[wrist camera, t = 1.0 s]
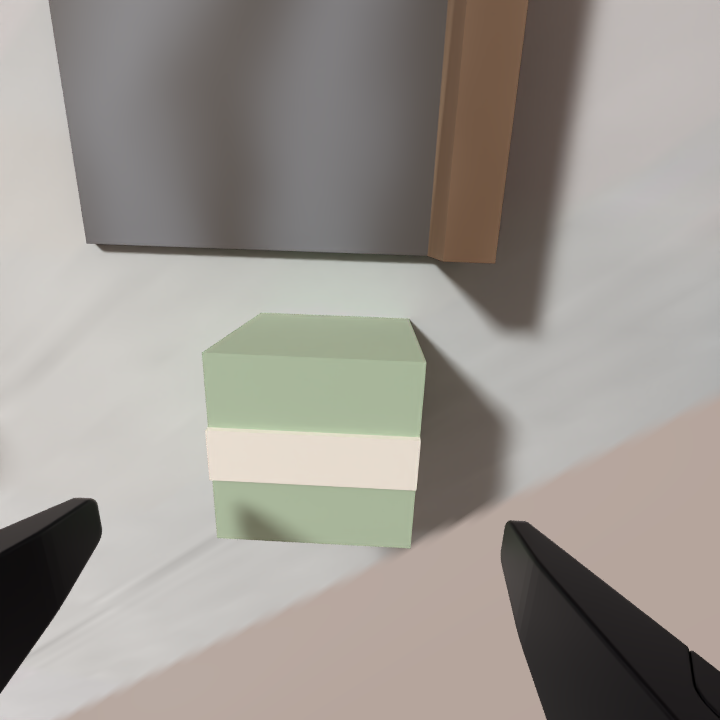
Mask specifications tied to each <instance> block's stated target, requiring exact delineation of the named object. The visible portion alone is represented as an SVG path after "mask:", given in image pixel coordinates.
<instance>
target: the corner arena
mask: <svg viewBox="0 0 720 720" xmlns="http://www.w3.org/2000/svg"><path fill="white" fill-rule="evenodd" d="M528 1H529V0H49V6H50V12H51V19H52V25H53V32H54V38H55V44H56V51H57V57H58V64H59V70H60V76H61V83H62V89H63V96H64V102H65V108H66V115H67V121H68V127H69V134H70V140H71V147H72V153H73V159H74V166H75V172H76V179H77V185H78V191H79V198H80V204H81V211H82V217H83V223H84V230H85V236H86V243H87V244H114V245H142V246H169V247H197V248H224V249H252V250H280V251H307V252H335V253H362V254H390V255H418V256H429V257H432V258H435V259H437V260H440V261H443V262H469V263H495V260H496V252H497V244H498V236H499V229H500V221H501V213H502V205H503V197H504V189H505V182H506V174H507V166H508V158H509V150H510V142H511V134H512V127H513V119H514V111H515V103H516V95H517V87H518V80H519V72H520V64H521V56H522V48H523V40H524V32H525V25H526V17H527V9H528Z"/></svg>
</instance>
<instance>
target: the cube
mask: <svg viewBox="0 0 720 720" xmlns="http://www.w3.org/2000/svg"><path fill="white" fill-rule="evenodd" d="M202 360H203V372H204V384H205V396H206V408H207V420H208V428H207V429H206V430H205V433H206V445H207V456H208V468H209V480H213V492H214V505H215V517H216V529H217V538H227V539H246V540H264V541H282V542H301V543H319V544H338V545H356V546H375V547H393V548H411V536H412V524H413V513H414V501H415V491H416V490H417V478H418V467H419V455H420V444H421V440H420V431H421V420H422V408H423V397H424V385H425V373H426V360H425V358H424V355H423V353H422V350H421V348H420V345H419V343H418V340H417V338H416V335H415V333H414V331H413V328H412V326H411V323H410V321H409V319H403V318H378V317H353V316H328V315H304V314H279V313H260V314H259V315H257V316H256V317H254V318H253V319H251V320H250V321H248V322H247V323H245V324H244V325H242V326H241V327H239V328H238V329H236V330H235V331H233V332H232V333H230V334H229V335H227V336H226V337H224V338H223V339H222V340H220V341H219V342H217V343H216V344H214V345H213V346H211V347H210V348H208V349H207V350H205V351H204V352H202Z"/></svg>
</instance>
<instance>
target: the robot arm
mask: <svg viewBox="0 0 720 720" xmlns="http://www.w3.org/2000/svg"><path fill="white" fill-rule="evenodd" d="M101 535H102V526H101V521H100V515H99V510H98V505H97V502H96V501H95V500H94V499H91V498H73V499H70V500H68V501H66V502H63V503H61V504H59V505H56V506H54V507H52V508H49V509H47V510H45V511H42V512H40V513H38V514H35V515H33V516H31V517H28V518H26V519H24V520H21V521H19V522H17V523H14V524H12V525H10V526H7V527H5V528H3V529H0V693H1V692H2V691H3V689H4V688H5V686H6V685H7V683H8V682H9V681H10V679H11V678H12V676H13V675H14V674H15V672H16V671H17V669H18V668H19V666H20V665H21V664H22V662H23V661H24V659H25V658H26V657H27V655H28V654H29V652H30V651H31V649H32V648H33V647H34V645H35V644H36V642H37V641H38V639H39V638H40V637H41V635H42V634H43V632H44V631H45V630H46V628H47V627H48V625H49V624H50V622H51V621H52V619H53V618H54V617H55V615H56V614H57V612H58V611H59V609H60V607H61V606H62V604H63V603H64V601H65V599H66V598H67V596H68V594H69V593H70V591H71V589H72V587H73V586H74V584H75V582H76V581H77V579H78V577H79V575H80V574H81V572H82V570H83V569H84V567H85V565H86V563H87V562H88V560H89V558H90V557H91V555H92V553H93V551H94V550H95V548H96V546H97V545H98V543H99V541H100V538H101ZM501 563H502V568H503V572H504V576H505V581H506V585H507V589H508V594H509V597H510V602H511V606H512V611H513V615H514V619H515V624H516V628H517V632H518V635H519V639H520V642H521V645H522V649H523V652H524V655H525V657H526V660H527V663H528V666H529V669H530V672H531V675H532V678H533V681H534V684H535V687H536V690H537V693H538V696H539V698H540V701H541V704H542V707H543V710H544V713H545V716H546V719H547V720H720V671H718V670H717V669H716V668H714V667H713V666H712V665H711V664H709V663H708V662H707V661H705V660H704V659H703V658H702V657H700V656H699V655H698V654H696V653H695V652H694V651H690V652H689V649H688V647H687V646H686V645H685V644H683V643H682V642H681V641H679V640H678V639H677V638H676V637H674V636H673V635H672V634H670V633H669V632H668V631H667V630H665V629H664V628H663V627H662V626H660V625H659V624H658V623H657V622H655V621H654V620H653V619H651V618H650V617H649V616H648V615H646V614H645V613H644V612H642V611H641V610H640V609H639V608H637V607H636V606H635V605H633V604H632V603H631V602H630V601H628V600H627V599H626V598H624V597H623V596H622V595H621V594H619V593H618V592H617V591H615V590H614V589H613V588H612V587H610V586H609V585H608V584H606V583H605V582H604V581H603V580H601V579H600V578H599V577H597V576H596V575H594V573H592V572H591V571H590V570H588V569H587V568H586V567H585V566H583V565H582V564H581V563H579V562H578V561H577V560H576V559H574V558H573V557H572V556H571V555H569V554H568V553H566V552H565V551H564V550H563V549H562V548H560V547H559V546H558V545H556V544H555V543H554V542H553V541H551V540H550V539H549V538H547V537H546V536H545V535H544V534H542V533H541V532H540V531H538V530H537V529H536V528H535V527H533V526H532V525H531V524H529V523H528V522H525V521H511V520H510V521H508V522H507V523H506V525H505V529H504V535H503V542H502V547H501Z"/></svg>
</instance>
